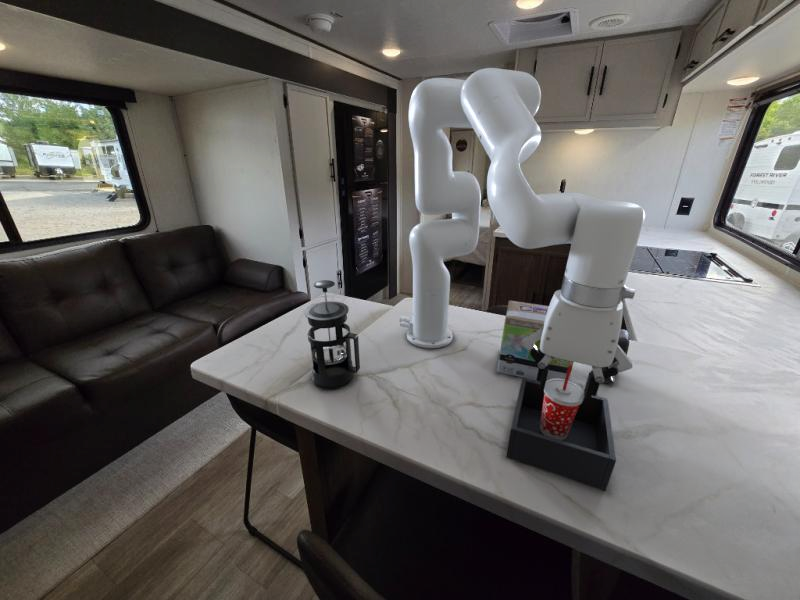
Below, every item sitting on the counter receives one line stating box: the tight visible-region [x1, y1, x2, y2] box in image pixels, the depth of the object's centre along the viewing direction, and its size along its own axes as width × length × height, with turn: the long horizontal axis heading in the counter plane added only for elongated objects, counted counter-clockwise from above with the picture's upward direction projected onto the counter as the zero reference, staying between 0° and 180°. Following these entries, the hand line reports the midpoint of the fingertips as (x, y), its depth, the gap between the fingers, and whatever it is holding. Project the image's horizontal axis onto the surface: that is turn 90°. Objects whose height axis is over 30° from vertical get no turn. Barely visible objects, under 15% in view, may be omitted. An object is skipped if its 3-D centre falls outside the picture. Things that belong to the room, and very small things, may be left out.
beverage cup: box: [540, 364, 584, 440], centre depth 57 cm, size 6×6×14 cm
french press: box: [304, 279, 361, 391], centre depth 72 cm, size 12×9×23 cm
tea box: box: [497, 300, 575, 381], centre depth 77 cm, size 15×10×15 cm, turn 70°
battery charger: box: [602, 328, 630, 385], centre depth 74 cm, size 7×4×11 cm, turn 149°
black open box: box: [505, 377, 617, 492], centre depth 59 cm, size 15×15×6 cm
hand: (564, 389), depth 56 cm, fingers closed on beverage cup, 6 cm apart
